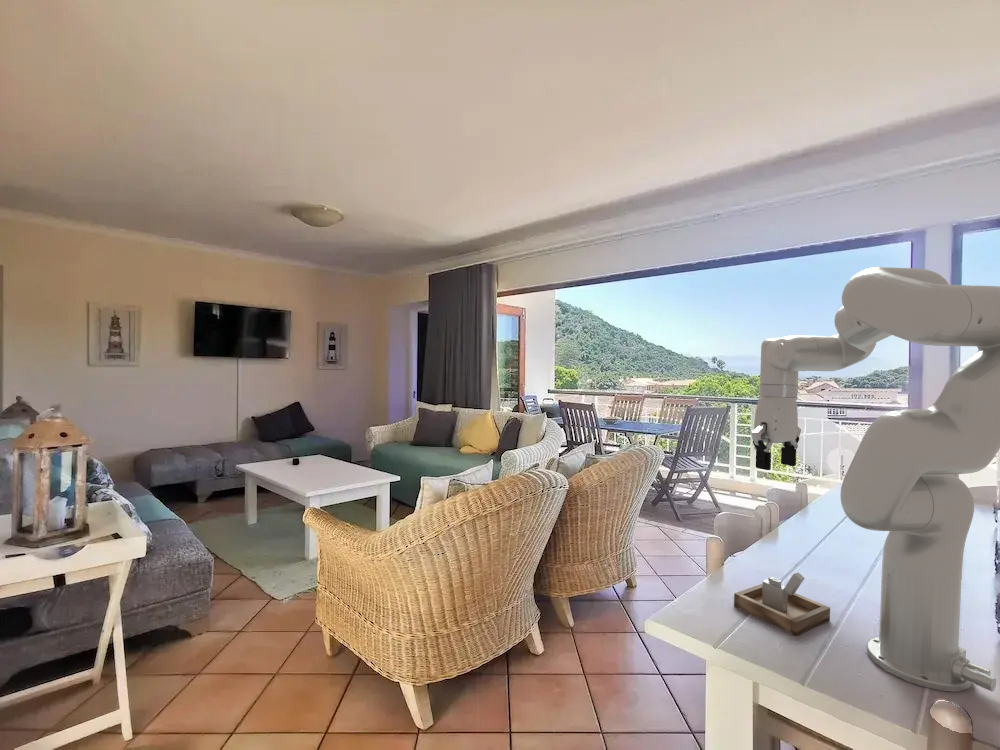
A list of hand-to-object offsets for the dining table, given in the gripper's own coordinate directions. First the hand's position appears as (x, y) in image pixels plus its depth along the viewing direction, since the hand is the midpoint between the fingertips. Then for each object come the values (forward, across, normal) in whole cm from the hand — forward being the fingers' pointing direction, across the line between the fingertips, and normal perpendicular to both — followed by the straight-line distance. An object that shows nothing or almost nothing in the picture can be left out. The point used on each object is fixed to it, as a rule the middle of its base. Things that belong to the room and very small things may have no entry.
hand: (775, 466), depth 112 cm
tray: (+24, +17, +12) cm, 32 cm away
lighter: (+24, +17, +12) cm, 32 cm away
